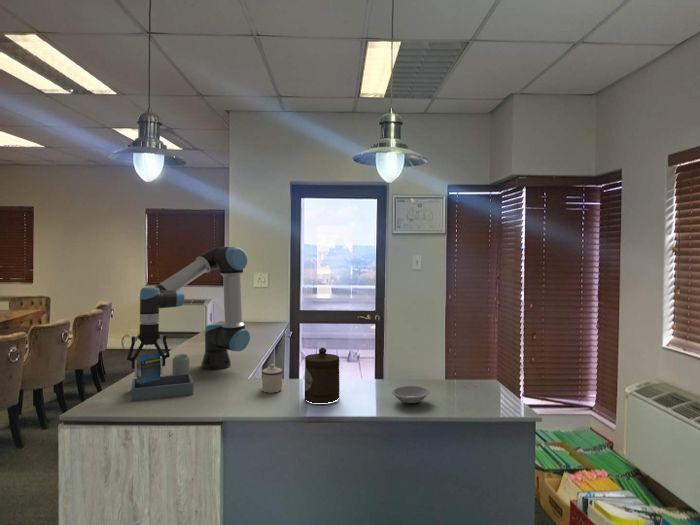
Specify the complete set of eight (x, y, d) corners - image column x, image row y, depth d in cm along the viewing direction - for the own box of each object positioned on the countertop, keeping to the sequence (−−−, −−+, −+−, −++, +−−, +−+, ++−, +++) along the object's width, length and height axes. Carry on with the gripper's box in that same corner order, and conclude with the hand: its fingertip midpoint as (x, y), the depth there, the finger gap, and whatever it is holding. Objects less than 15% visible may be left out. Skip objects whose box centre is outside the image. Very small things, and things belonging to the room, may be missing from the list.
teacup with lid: (286, 390, 196) (286, 364, 196) (269, 395, 189) (269, 368, 189) (270, 384, 204) (271, 360, 204) (254, 388, 198) (254, 363, 198)
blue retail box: (155, 378, 193) (156, 350, 193) (160, 379, 191) (161, 351, 190) (136, 382, 186) (136, 354, 185) (141, 384, 183) (141, 355, 183)
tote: (190, 384, 203) (190, 373, 203) (193, 394, 188) (193, 383, 188) (132, 390, 193) (132, 378, 193) (131, 401, 178) (131, 389, 178)
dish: (410, 394, 194) (410, 383, 193) (437, 402, 183) (437, 391, 183) (383, 403, 181) (384, 391, 181) (411, 413, 171) (411, 400, 171)
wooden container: (306, 393, 192) (307, 344, 192) (340, 394, 192) (341, 344, 192) (302, 405, 178) (302, 351, 177) (338, 406, 177) (339, 352, 177)
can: (183, 382, 205) (183, 357, 204) (169, 381, 206) (169, 356, 206) (192, 378, 212) (192, 354, 212) (178, 377, 213) (178, 353, 213)
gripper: (119, 325, 180) (119, 379, 180) (177, 323, 189) (176, 374, 189) (121, 323, 186) (120, 375, 187) (176, 320, 196) (175, 370, 196)
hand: (148, 374), depth 188 cm, fingers closed on blue retail box, 9 cm apart
